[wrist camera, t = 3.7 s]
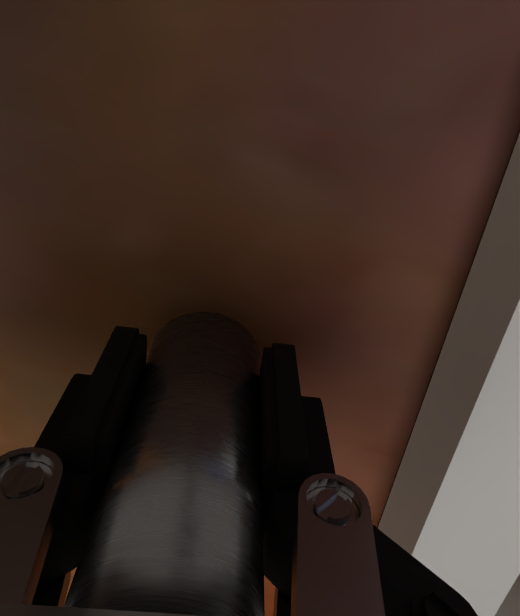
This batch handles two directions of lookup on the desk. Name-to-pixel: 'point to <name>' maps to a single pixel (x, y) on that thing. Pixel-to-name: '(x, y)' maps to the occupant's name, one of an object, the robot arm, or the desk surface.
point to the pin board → (472, 432)
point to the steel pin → (184, 483)
